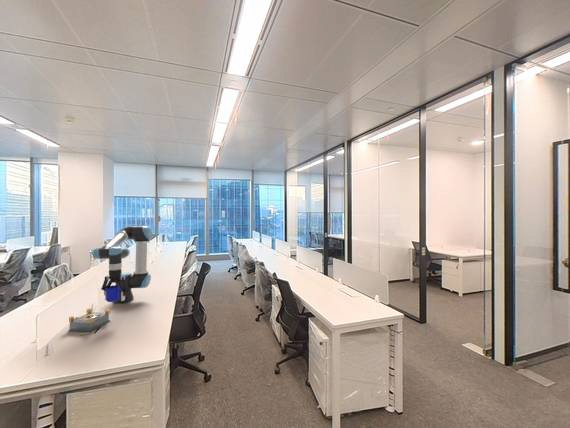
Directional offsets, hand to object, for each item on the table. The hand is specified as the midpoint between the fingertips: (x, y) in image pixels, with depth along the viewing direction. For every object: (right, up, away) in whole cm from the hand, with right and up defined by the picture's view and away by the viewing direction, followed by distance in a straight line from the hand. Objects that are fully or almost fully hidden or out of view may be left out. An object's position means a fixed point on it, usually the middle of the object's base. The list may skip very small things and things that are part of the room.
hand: (115, 300), depth 182 cm
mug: (0, -1, 0) cm, 1 cm away
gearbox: (-12, -15, -8) cm, 21 cm away
